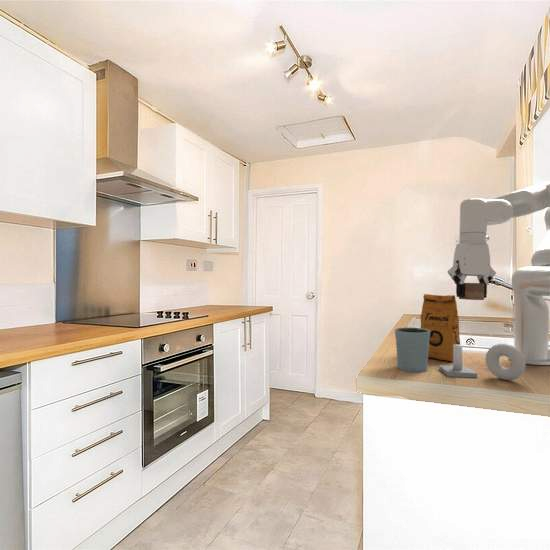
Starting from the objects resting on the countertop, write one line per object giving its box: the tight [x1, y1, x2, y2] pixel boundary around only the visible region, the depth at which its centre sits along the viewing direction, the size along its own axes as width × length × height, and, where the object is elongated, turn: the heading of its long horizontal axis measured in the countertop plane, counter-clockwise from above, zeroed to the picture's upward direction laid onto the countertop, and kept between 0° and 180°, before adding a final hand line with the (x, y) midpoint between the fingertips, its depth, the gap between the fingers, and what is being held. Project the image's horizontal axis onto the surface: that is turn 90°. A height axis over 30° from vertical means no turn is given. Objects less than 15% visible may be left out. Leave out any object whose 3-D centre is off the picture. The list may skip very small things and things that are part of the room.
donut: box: [485, 343, 527, 381], centre depth 106 cm, size 10×4×10 cm, turn 37°
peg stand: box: [438, 344, 479, 378], centre depth 112 cm, size 8×8×8 cm
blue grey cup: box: [394, 326, 430, 373], centre depth 117 cm, size 10×10×12 cm
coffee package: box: [420, 293, 461, 363], centre depth 132 cm, size 10×12×22 cm
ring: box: [458, 282, 485, 301], centre depth 119 cm, size 7×7×5 cm
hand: (471, 296), depth 119 cm, fingers closed on ring, 6 cm apart
